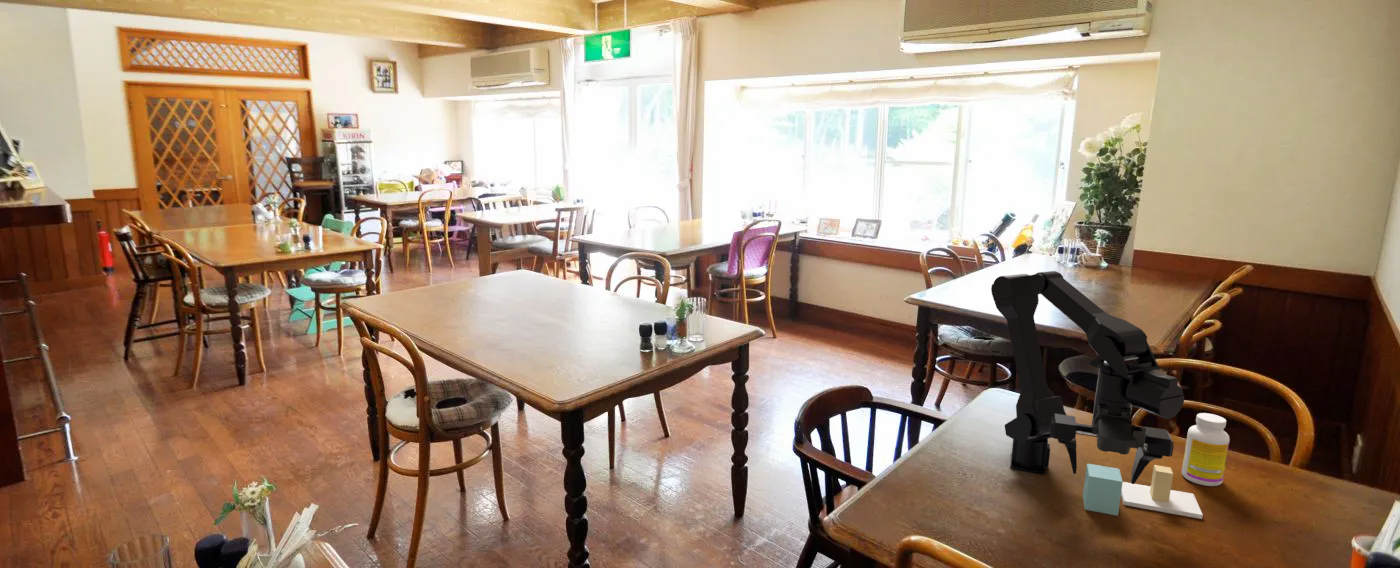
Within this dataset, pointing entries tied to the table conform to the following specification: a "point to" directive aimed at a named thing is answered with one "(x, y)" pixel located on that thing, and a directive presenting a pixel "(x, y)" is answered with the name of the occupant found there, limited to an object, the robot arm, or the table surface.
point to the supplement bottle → (1206, 450)
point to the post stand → (1161, 495)
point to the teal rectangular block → (1102, 489)
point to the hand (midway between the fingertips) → (1102, 477)
